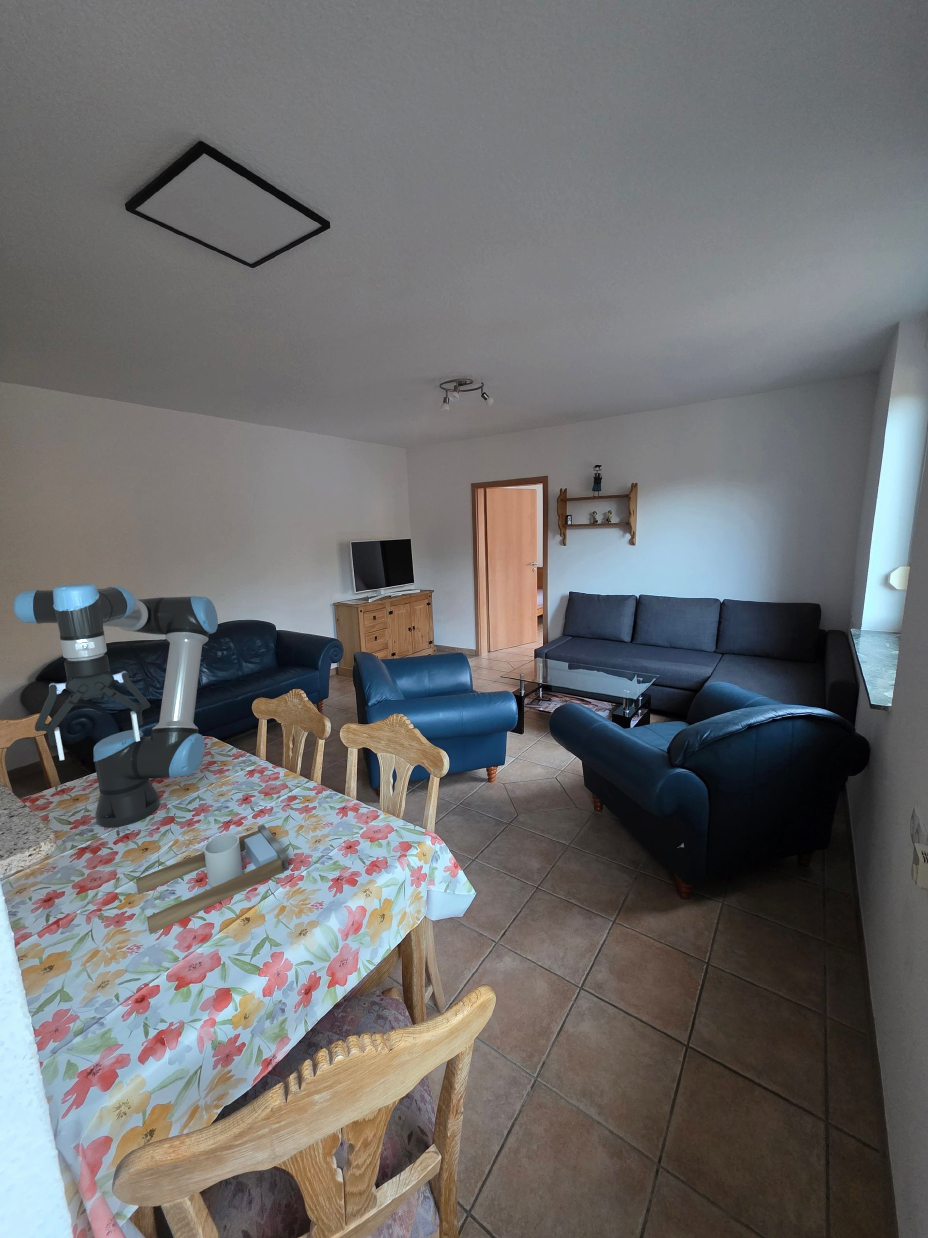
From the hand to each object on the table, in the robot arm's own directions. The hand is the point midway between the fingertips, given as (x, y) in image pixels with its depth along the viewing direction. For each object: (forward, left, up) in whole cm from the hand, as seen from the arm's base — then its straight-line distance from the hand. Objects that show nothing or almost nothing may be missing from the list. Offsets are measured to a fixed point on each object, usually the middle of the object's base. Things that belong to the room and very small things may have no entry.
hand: (101, 748), depth 108 cm
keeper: (+17, +24, -30) cm, 42 cm away
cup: (+17, +18, -32) cm, 40 cm away
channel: (+17, +16, -32) cm, 39 cm away
